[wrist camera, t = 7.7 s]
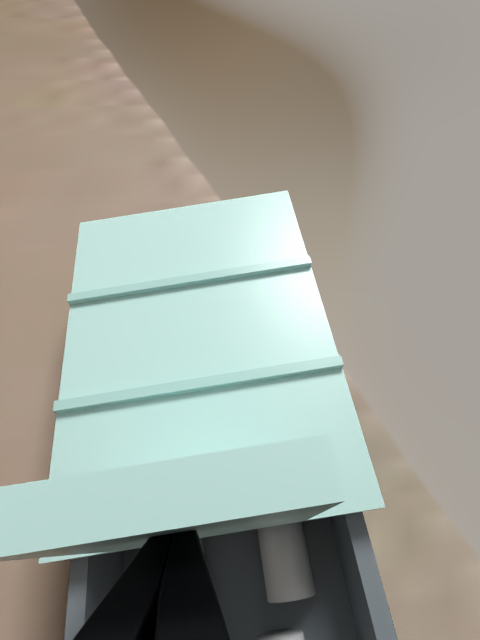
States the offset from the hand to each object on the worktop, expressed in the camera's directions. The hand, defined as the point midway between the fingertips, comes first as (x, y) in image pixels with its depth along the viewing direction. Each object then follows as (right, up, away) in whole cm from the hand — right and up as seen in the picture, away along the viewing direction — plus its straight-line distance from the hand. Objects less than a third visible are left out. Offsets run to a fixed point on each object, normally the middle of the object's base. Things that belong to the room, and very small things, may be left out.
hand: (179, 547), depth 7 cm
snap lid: (-1, +4, +9) cm, 10 cm away
